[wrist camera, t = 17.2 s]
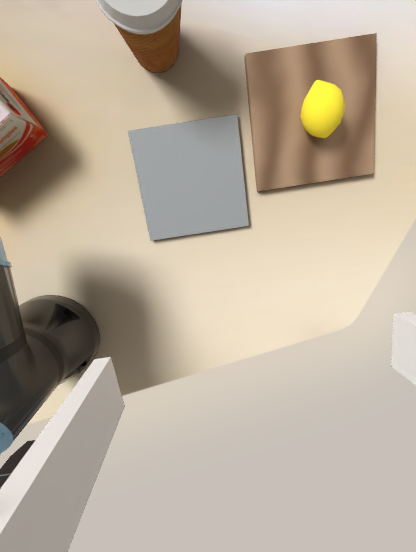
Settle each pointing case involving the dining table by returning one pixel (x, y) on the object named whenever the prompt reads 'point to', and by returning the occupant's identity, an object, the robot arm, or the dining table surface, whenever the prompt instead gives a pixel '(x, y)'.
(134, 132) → the slate grey mat
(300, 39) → the dining table surface
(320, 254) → the dining table surface
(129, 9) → the disposable coffee cup
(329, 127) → the lemon
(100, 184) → the dining table surface
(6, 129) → the medicine box
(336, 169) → the walnut board
